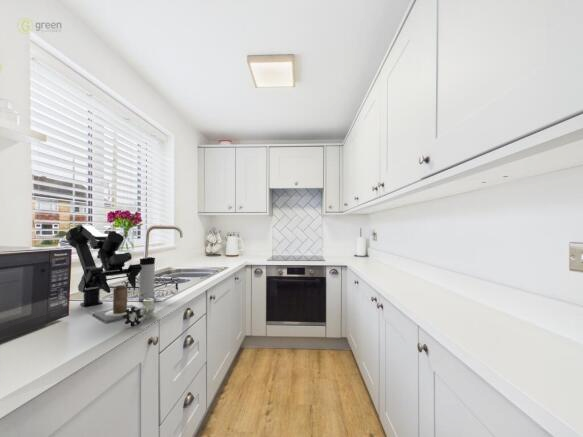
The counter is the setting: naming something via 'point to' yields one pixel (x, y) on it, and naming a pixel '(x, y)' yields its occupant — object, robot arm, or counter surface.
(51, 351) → the counter surface
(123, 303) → the pepper mill
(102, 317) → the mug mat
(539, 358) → the counter surface
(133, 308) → the valve
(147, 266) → the travel mug
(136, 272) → the robot arm
